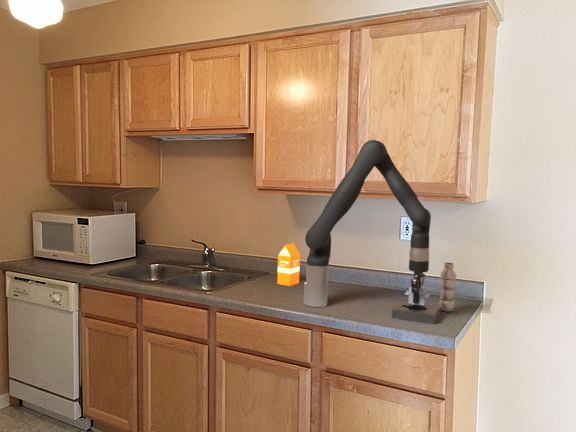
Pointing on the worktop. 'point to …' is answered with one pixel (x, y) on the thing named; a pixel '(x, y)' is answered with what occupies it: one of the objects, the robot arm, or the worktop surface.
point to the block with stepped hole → (416, 312)
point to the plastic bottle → (447, 288)
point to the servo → (422, 296)
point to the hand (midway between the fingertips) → (417, 301)
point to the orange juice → (288, 265)
